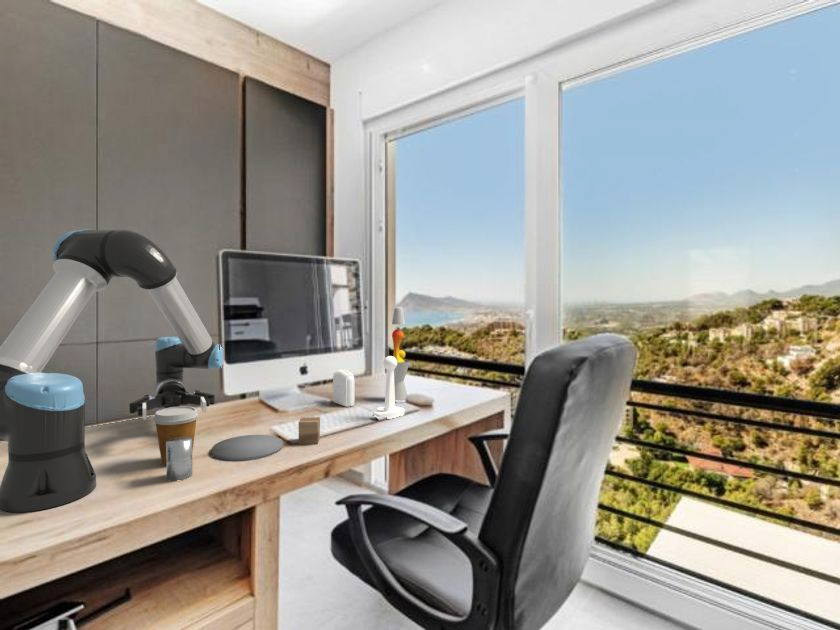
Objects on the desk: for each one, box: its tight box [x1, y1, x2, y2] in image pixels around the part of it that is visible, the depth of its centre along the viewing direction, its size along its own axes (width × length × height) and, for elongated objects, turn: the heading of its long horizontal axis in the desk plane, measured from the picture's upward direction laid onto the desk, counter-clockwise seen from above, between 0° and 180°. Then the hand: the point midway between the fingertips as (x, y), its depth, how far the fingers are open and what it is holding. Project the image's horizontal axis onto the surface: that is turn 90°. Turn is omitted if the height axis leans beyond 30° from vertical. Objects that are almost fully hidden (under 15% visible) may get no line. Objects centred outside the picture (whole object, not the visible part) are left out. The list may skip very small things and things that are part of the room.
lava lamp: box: [391, 306, 411, 400], centre depth 172 cm, size 9×9×35 cm
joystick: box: [372, 355, 405, 420], centre depth 151 cm, size 11×8×20 cm
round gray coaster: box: [211, 434, 284, 462], centre depth 118 cm, size 17×17×1 cm
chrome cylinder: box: [165, 437, 193, 482], centre depth 100 cm, size 5×5×8 cm
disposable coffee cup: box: [152, 405, 199, 466], centre depth 109 cm, size 10×10×12 cm
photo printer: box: [332, 369, 356, 408], centre depth 166 cm, size 10×4×12 cm, turn 39°
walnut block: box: [298, 416, 321, 445], centre depth 125 cm, size 5×5×6 cm
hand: (175, 410), depth 118 cm, fingers open, 13 cm apart
